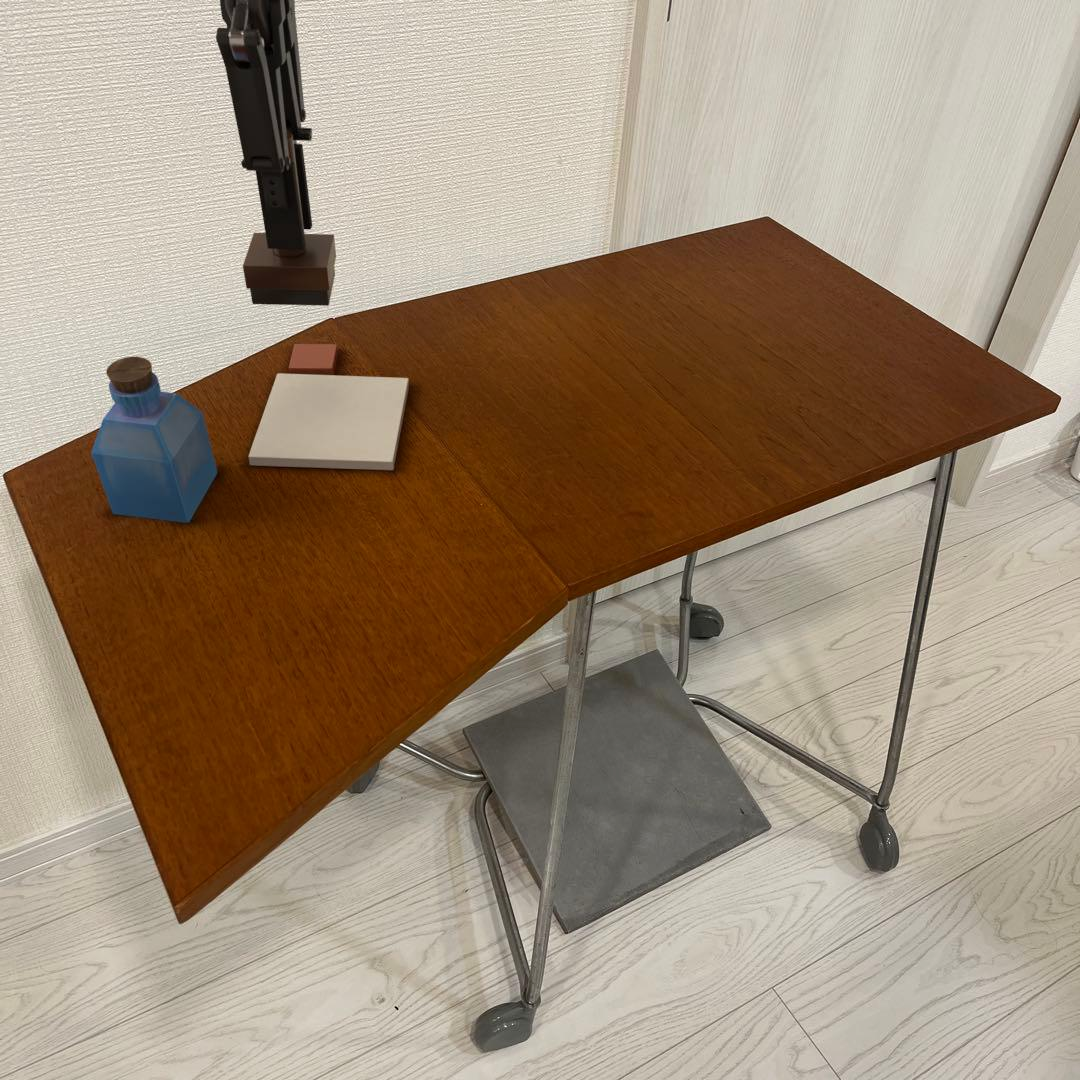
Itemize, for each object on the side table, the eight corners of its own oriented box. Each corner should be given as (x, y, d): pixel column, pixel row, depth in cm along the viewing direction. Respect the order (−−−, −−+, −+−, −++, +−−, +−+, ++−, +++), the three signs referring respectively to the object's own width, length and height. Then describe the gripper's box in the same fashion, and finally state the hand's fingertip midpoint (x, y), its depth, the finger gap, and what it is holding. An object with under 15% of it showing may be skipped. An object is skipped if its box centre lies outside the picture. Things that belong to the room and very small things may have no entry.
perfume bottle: (145, 464, 84) (107, 341, 76) (217, 472, 84) (186, 349, 75) (113, 513, 80) (68, 389, 71) (188, 523, 79) (152, 398, 71)
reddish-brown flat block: (290, 378, 94) (288, 367, 93) (296, 354, 97) (294, 343, 96) (333, 378, 94) (332, 368, 93) (338, 354, 97) (336, 343, 96)
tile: (249, 465, 84) (247, 456, 84) (278, 381, 93) (277, 372, 92) (393, 470, 85) (392, 461, 84) (409, 386, 93) (408, 377, 93)
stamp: (249, 305, 80) (222, 149, 71) (259, 271, 84) (235, 119, 75) (331, 307, 80) (314, 152, 72) (337, 273, 84) (323, 122, 75)
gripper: (276, -82, 57) (322, 290, 73) (321, -140, 68) (353, 193, 85) (142, -89, 57) (218, 286, 73) (209, -146, 68) (262, 190, 84)
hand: (290, 236), depth 79 cm, fingers closed on stamp, 3 cm apart
